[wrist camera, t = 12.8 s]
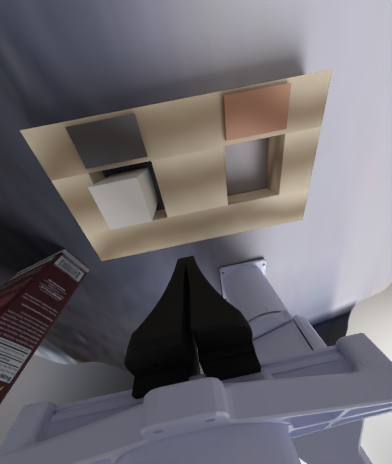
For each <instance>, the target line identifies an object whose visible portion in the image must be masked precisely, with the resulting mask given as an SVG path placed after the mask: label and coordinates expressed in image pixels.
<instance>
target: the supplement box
mask: <svg viewBox="0 0 392 464" xmlns="http://www.w3.org/2000/svg"><path fill="white" fill-rule="evenodd" d="M88 271H89V269H88V268H87V267H86V266H85V265H84V264H82V263H81V262H80V261H79V260H78V259H77V258H75V257H74V256H73V255H72V254H71V253H69V252H68V251H67V250H66V249H63V250H61V251H59V252H57V253H56V254H54V255H52V256H50V257H48V258H46V259H44V260H42V261H40V262H38V263H36V264H34V265H32V266H30V267H28V268H26V269H24V270H22V271H20V272H18V273H17V274H16V275H15V276H14V277H12V278H11V279H10V280H9V281H8V282H7V283H5V284H4V285H3V286H2V287H1V288H0V404H1V402H2V401H3V399H4V398H5V396H6V395H7V393H8V392H9V390H10V389H11V387H12V386H13V384H14V383H15V381H16V380H17V378H18V377H19V375H20V374H21V372H22V371H23V369H24V368H25V366H26V364H27V363H28V361H29V360H30V359H31V357H32V356H33V354H34V352H35V351H36V349H37V348H38V346H39V345H40V343H41V342H42V340H43V339H44V337H45V336H46V334H47V333H48V331H49V330H50V328H51V327H52V325H53V324H54V322H55V321H56V319H57V318H58V316H59V315H60V313H61V312H62V310H63V309H64V307H65V306H66V304H67V303H68V301H69V300H70V298H71V297H72V295H73V294H74V292H75V291H76V289H77V288H78V286H79V285H80V283H81V282H82V280H83V279H84V277H85V275H86V274H87V272H88Z"/></svg>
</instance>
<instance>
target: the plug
mask: <svg viewBox="0 0 392 464" xmlns="http://www.w3.org/2000/svg"><path fill="white" fill-rule="evenodd" d="M88 189H89V191H90V193H91V194H92V196H93V198H94V200H95V202H96V204H97V206H98V208H99V210H100V212H101V214H102V215H103V217H104V219H105V221H106V223H107V225H108V227H109V229H110V230H112V229H117V228H122V227H127V226H132V225H137V224H142V223H147V222H151V221H153V217H154V214H155V210H156V207H157V204H158V198H157V195H156V191H155V188H154V185H153V181H152V178H151V175H150V172H149V168H148V167H147V168H142V169H137V170H132V171H127V172H122V173H117V174H113V175H111V176H109V177H107V178H105V179H103V180H101V181H99V182H97V183H95V184H94V185H92V186H90V187H88Z"/></svg>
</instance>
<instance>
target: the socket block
mask: <svg viewBox="0 0 392 464" xmlns="http://www.w3.org/2000/svg"><path fill="white" fill-rule="evenodd" d="M331 74H332V69H331V70H326V71H321V72H315V73H310V74H305V75H300V76H295V77H290V78H285V79H280V80H275V81H270V82H264V83H259V84H254V85H249V86H244V87H239V88H234V89H229V90H224V91H219V92H213V93H208V94H203V95H198V96H193V97H188V98H183V99H178V100H173V101H168V102H162V103H157V104H152V105H147V106H142V107H137V108H132V109H127V110H122V111H117V112H111V113H106V114H101V115H96V116H91V117H86V118H81V119H76V120H71V121H66V122H60V123H55V124H50V125H45V126H40V127H35V128H30V129H25V130H20V132H21V133H22V135H23V137H24V138H25V140H26V141H27V143H28V145H29V146H30V148H31V149H32V151H33V153H34V154H35V156H36V157H37V159H38V160H39V162H40V164H41V165H42V167H43V168H44V170H45V172H46V173H47V175H48V176H49V178H50V180H51V181H52V183H53V184H54V186H55V187H56V189H57V191H58V192H59V194H60V195H61V197H62V199H63V200H64V202H65V203H66V205H67V207H68V208H69V210H70V211H71V213H72V215H73V216H74V218H75V219H76V221H77V222H78V224H79V226H80V227H81V229H82V230H83V232H84V234H85V235H86V237H87V238H88V240H89V242H90V243H91V245H92V246H93V248H94V249H95V251H96V253H97V254H98V256H99V257H100V259H101V261H105V260H110V259H115V258H119V257H124V256H129V255H134V254H139V253H144V252H148V251H153V250H158V249H163V248H168V247H172V246H177V245H182V244H187V243H192V242H197V241H201V240H206V239H211V238H216V237H221V236H226V235H230V234H235V233H240V232H245V231H250V230H255V229H259V228H264V227H269V226H274V225H279V224H283V223H288V222H293V221H298V220H303V215H304V210H305V205H306V200H307V195H308V190H309V185H310V180H311V175H312V170H313V165H314V160H315V155H316V150H317V145H318V140H319V135H320V130H321V125H322V120H323V115H324V110H325V104H326V99H327V94H328V89H329V84H330V79H331ZM267 137H269V147H268V164H267V181H266V188H264V189H259V190H254V191H250V192H245V193H240V194H235V195H230V196H227V185H226V171H225V156H224V146H227V145H232V144H237V143H242V142H247V141H252V140H257V139H262V138H267ZM147 161H151V162H152V165H153V169H154V172H155V176H156V179H157V183H158V186H159V189H160V193H161V196H162V200H163V203H164V207H165V209H161V210H156V211H155V214H154V217H153V221H151V222H147V223H142V224H137V225H132V226H127V227H122V228H117V229H112V230H110V229H109V227H108V225H107V223H106V221H105V219H104V217H103V215H102V214H101V212H100V210H99V208H98V206H97V204H96V202H95V200H94V198H93V196H92V194H91V193H90V191H89V189H88V187H90V186H92V185H94V184H95V183H97V182H99V181H101V180H103V179H105V176H104V174H103V171H102V170H107V169H112V168H117V167H122V166H127V165H132V164H137V163H142V162H147Z"/></svg>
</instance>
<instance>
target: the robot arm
mask: <svg viewBox="0 0 392 464" xmlns="http://www.w3.org/2000/svg"><path fill="white" fill-rule="evenodd" d="M219 271H220V279H221V286H222V294H223V297H222V296H221V295H220V294H219V293H218V292H217V291H216V290H215V289H214V288H213V287H212V286H211V284H210V283H209V282H208V281H207V279H206V278H205V277H204V275H203V274H202V272H201V271H200V269H199V267H198V266H197V264H196V261H195V258H194V256H190V257H185V258H180V259H178V260H177V264H176V267H175V270H174V272H173V275H172V277H171V280H170V282H169V284H168V286H167V288H166V290H165V292H164V294H163V295H162V297H161V299H160V300H159V302H158V303H157V305H156V306H155V308H154V309H153V310H152V312H151V313H150V314H149V316H148V317H147V318H146V319H145V321H144V322H143V323H142V324H141V325H140V326H139V327H138V328H137V330H136V331H135V332H134V333H133V334H132V336H131V339H130V342H129V345H128V348H127V353H126V357H125V361H124V365H125V366H126V368H127V369H128V370H129V371H130V372H131V373H132V374H133V375H134V376H135V378H134V385H133V389H132V390H128V391H123V392H118V393H114V394H109V395H105V396H100V397H95V398H91V399H86V400H82V401H77V402H72V403H68V404H63V405H59V406H56V405H55V404H54V403H51V402H40V403H36V404H31V405H27V406H24V407H22V409H21V411H20V413H19V414H18V416H17V418H16V420H15V421H14V423H13V425H12V426H11V428H10V430H9V432H8V434H7V435H6V437H5V439H4V440H3V442H2V444H1V446H0V464H301V462H300V460H299V458H300V459H302V460H303V461H304V462H306V463H307V464H372V462H371V461H370V459H369V458H368V456H367V455H366V453H365V452H364V450H363V449H362V447H361V446H360V444H361V437H362V432H363V426H364V420H365V418H368V417H372V416H376V415H381V414H385V413H389V412H392V362H391V361H390V360H389V359H388V358H387V357H386V356H385V355H384V354H383V352H382V351H380V349H379V348H378V347H377V346H376V345H374V343H373V342H372V341H371V340H370V339H369V338H368V337H367V336H366V335H365V334H363V333H359V334H354V335H349V336H345V337H342V338H340V339H339V340H338V341H337V342H336V345H335V346H330V347H327V346H326V344H325V343H324V342H323V340H322V339H321V338H320V336H319V335H318V334H317V332H316V331H315V330H314V328H313V327H312V326H311V325H310V323H309V322H308V321H307V320H306V318H304V317H301V316H299V315H295V316H294V317H293V316H292V315H291V314H290V313H289V311H288V310H287V308H286V307H285V305H284V304H283V302H282V301H281V299H280V298H279V296H278V295H277V293H276V292H275V290H274V289H273V287H272V286H271V284H270V283H269V281H268V280H267V278H266V277H265V272H266V260H265V259H260V260H255V261H250V262H245V263H240V264H236V265H231V266H226V267H222V268H220V270H219ZM222 272H223V273H222ZM197 348H198V353H197ZM198 357H199V360H198ZM199 363H200V364H201V367H202V369H203V372H204V374H200V367H199Z"/></svg>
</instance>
